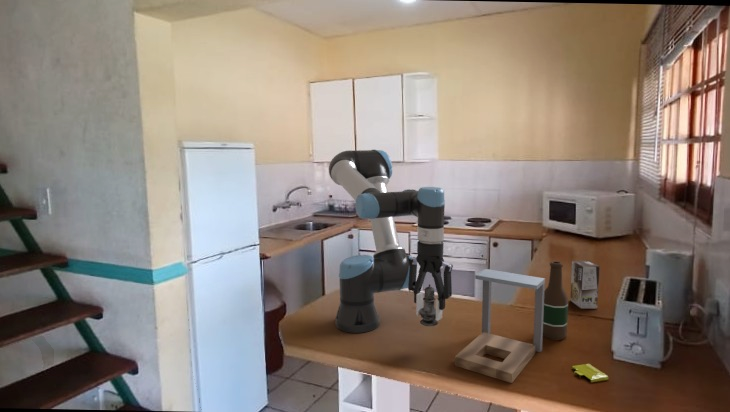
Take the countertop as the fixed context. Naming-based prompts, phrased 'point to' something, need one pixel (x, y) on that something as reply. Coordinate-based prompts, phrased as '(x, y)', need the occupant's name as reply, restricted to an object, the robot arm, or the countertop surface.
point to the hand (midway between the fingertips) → (429, 316)
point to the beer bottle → (555, 305)
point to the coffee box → (584, 284)
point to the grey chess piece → (428, 308)
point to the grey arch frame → (518, 281)
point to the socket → (498, 346)
